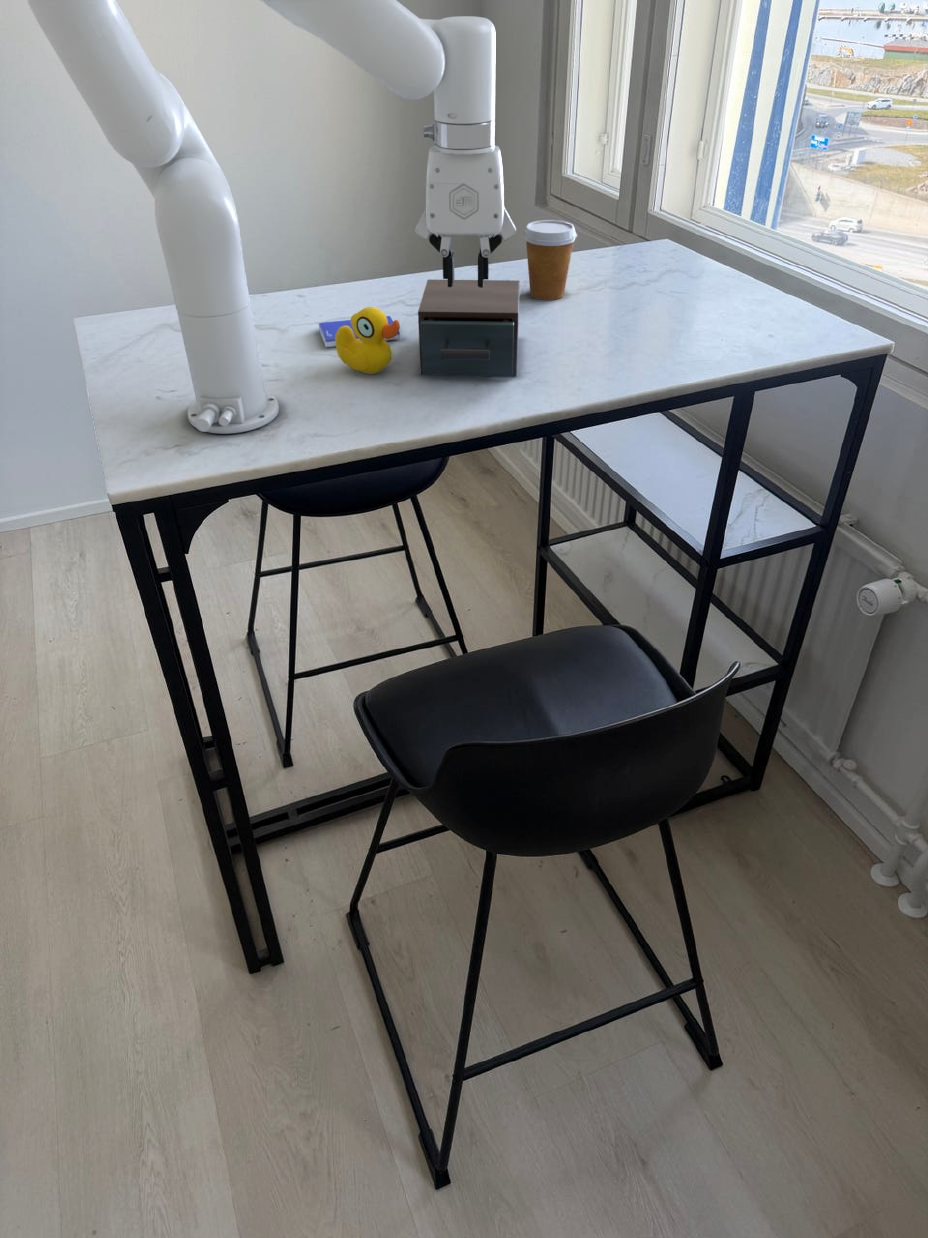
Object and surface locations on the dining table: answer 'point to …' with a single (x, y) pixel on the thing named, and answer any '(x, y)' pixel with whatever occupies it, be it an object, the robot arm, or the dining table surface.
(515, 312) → the cabinet
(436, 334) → the drawer
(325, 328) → the hard drive
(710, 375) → the dining table surface
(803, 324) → the dining table surface
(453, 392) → the dining table surface
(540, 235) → the disposable coffee cup
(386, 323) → the duckling
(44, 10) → the robot arm
